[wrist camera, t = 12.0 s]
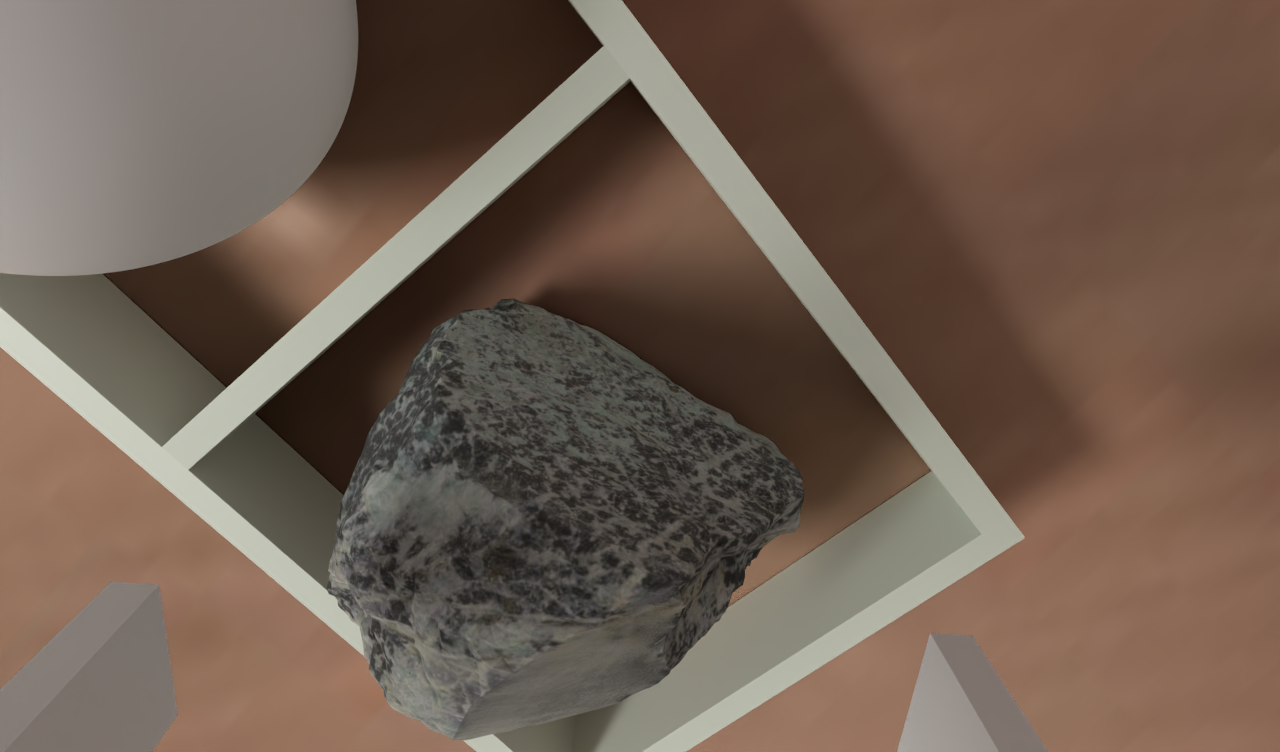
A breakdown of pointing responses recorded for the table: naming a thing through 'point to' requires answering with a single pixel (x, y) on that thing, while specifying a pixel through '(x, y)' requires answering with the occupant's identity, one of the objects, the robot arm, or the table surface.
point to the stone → (545, 524)
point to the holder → (225, 417)
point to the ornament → (160, 123)
